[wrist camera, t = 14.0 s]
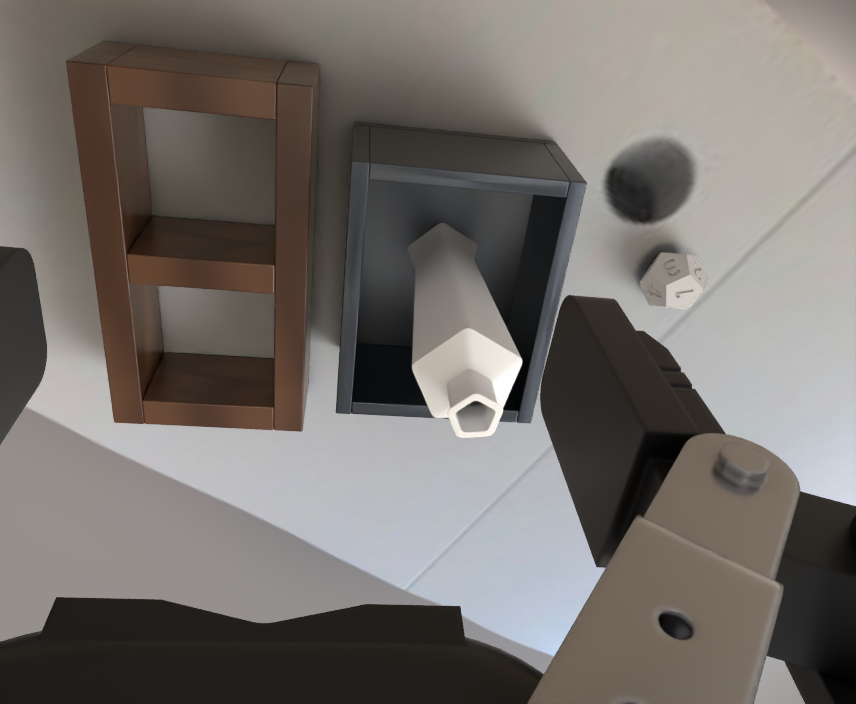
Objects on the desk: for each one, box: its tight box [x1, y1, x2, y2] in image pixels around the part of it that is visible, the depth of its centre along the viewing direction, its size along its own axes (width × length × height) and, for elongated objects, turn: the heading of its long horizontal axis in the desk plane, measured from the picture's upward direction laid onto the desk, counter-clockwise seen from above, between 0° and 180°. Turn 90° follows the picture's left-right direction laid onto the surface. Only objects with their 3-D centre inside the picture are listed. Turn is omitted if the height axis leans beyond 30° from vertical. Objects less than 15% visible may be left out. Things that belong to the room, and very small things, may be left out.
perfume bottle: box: [407, 223, 522, 438], centre depth 35 cm, size 5×4×15 cm
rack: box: [66, 41, 320, 431], centre depth 38 cm, size 10×19×5 cm, turn 173°
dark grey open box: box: [336, 122, 587, 423], centre depth 39 cm, size 11×14×7 cm
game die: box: [639, 252, 708, 309], centre depth 42 cm, size 4×4×3 cm
